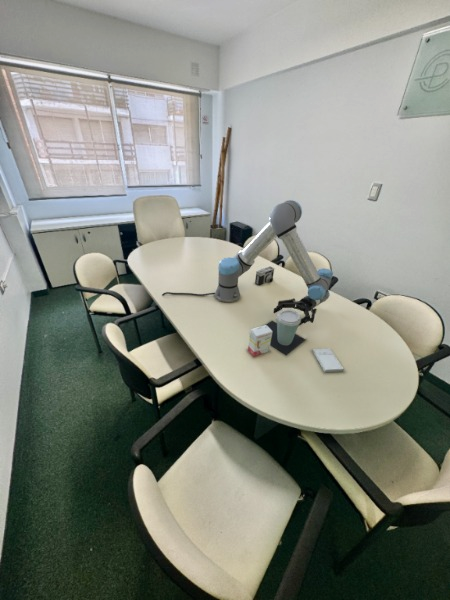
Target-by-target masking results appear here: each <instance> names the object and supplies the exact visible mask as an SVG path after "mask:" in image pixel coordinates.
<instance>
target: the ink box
mask: <svg viewBox="0 0 450 600" xmlns="http://www.w3.org/2000/svg"><path fill="white" fill-rule="evenodd" d="M271 337H272V330H271V329H270V328H269V327H268V326H267V325H266V324H265V325H261V326H258V327H254V328H251V329H250V331H249V339H248V346H247V347H248V348H247V351H248V352H249V353H250V354H251V356H252V357H253V358H254V357H257V356H259V355H263V354H265V353H268V352H270V347H271V345H270V343H271Z"/></svg>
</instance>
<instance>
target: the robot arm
mask: <svg viewBox="0 0 450 600" xmlns="http://www.w3.org/2000/svg"><path fill="white" fill-rule="evenodd" d="M302 215H303V208H302V206H301V204H300V203H299V202H298V201H296V200H293V199H292V200H291V199H290V200H289V199H288V200H285V201H284V202H282V203H278V204H277V205H275V206H274V207H273V208H272V210H271V212H270V215H269V222H268V223H267V224H266V225H264V227H263V228H262V229H261V230H260V231H259V233H257V234H256V236H255V237H254V238H253V239H252V240H251V242H249V243H248V244H247V245H246V247H245V248H243V249H240V250H239V251H237V253H236V254H235V255H234V256H233V257H231V256H230V257H229V256H228V257H224V258H222V259H221V260H220V261H219V262H218V267H217V268H218V269H217V270H218V282H217V283H218V285H217V288H216V290H215V292H208V293H193V292H171V291H166V292H163V293H162V294H161V296H165V295H189V296H195V297H196V296H199V297H205V296H213V295H214V297H215V299H216V300H217V301H218V302H222V303H225V304H229V303H230V304H231V303H235V302H238V301H239V300H240V298H241V291H240V289H239V277H241V276H242V275H243V274H245V273H246V272H248V271H249V270H250V269H251V268H252V266H253V265H254V264H255V260H256V259H257V257H259V256H260V255H261V254H262V252H263V251H265V250H266V249H267V248H268V247H269V246H270V245H271V243H273V241H274V240H276V238H277V239H279V240H281V242H282V243H283V245H284V247H285V249H286V250H287V252H288V254H289V256H290V258H291V260H292V262H293V264H294V265H295V267H296V269H297V271H298V273H299V274H300V276H301V278H302V280H303V281H304V283H305V286H306V287H307V295H305V296H304V297H302V298H300V300H296V298H289V299H284V300H278V302H277V305H276V306H275V307H274V308H273V311H272V312H273V315H275V314H278V313H279V312H281V311H282V310H283V309H292V310H298V311H300V312H303V315H304V316H303V317H302V318H301V323H299V326H298V328H299V327H301V325H303V324H304V325H305V324H307V323H310V324H314V322H315V316H316V313H317V308H316V307H318V306H319V305H321V304H323V303H324V302H326V301H327V300H329V298H330V296H331V295H330V293H331V292H330V290H329V289H330V286H331V283H332V279H333V275H334V271H332V270H331V269H329V268H324V267H323V268H320V269H317V267H316V266H315V264H314V262H313V260H312V258H311V256H310V254H309V252H308V250H307V249H306V247H305V245H304V243H303V241H302V239H301V237H300V236H299V234H298V232H297V229H298V227H297V225H296V224H297V223H298V222H299V221H300V220H301V218H302ZM310 312H311V315H310Z"/></svg>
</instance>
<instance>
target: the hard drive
mask: <svg viewBox="0 0 450 600" xmlns="http://www.w3.org/2000/svg"><path fill="white" fill-rule="evenodd" d="M312 353H313V354H314V357H315V358H316V361H318V364H319V365H320V366H321V369H322V370H323V372H324V373H336V372H337V373H338V372H344V371H345V368H344V367H343V365H342V364H341V362H340V361H339V360H338V358H337V356H336V355H335V354H334V352H333V351H332V349H331V348H330V347H328V348H313V349H312Z"/></svg>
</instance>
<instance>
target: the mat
mask: <svg viewBox="0 0 450 600" xmlns="http://www.w3.org/2000/svg"><path fill="white" fill-rule="evenodd" d="M265 325H267V326H268V327H269V328H270V329H271V330H272V337H271V343H270V347H272V348H273V349H275V350H277V351H278V352H280V353H281V354H283V355H284V356H287V355H289V354H290V353H291V352H293V351H294V350H296V348H297V347H300V345H301V344H303V343H304V342H305V341H306V338H305V337H302V336H300V335H299V334H297V333H295V336H294V338H293V341H292V343H291V344H289V345H282V344H280V343H279V342H278V340H277V321H273V320H271V321H269V322H268V323H266V324H265Z"/></svg>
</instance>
